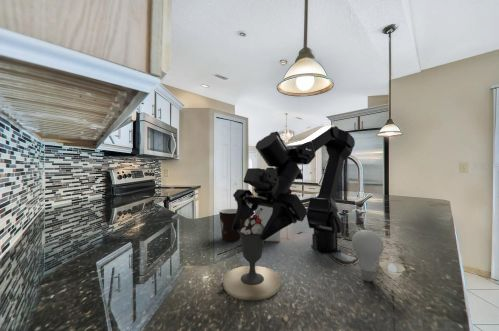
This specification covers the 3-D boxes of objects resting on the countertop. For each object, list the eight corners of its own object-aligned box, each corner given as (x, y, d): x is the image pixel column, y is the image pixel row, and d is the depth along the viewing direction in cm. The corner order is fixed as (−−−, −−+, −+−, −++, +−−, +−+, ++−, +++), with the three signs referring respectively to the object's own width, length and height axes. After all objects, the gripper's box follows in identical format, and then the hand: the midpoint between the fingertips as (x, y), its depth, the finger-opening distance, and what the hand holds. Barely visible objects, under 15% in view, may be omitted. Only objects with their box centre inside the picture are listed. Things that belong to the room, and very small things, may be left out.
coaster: (269, 268, 53) (268, 263, 53) (289, 295, 42) (289, 289, 42) (220, 274, 50) (220, 268, 50) (227, 304, 39) (227, 297, 39)
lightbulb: (384, 291, 43) (383, 235, 43) (350, 283, 46) (349, 231, 46) (384, 278, 48) (383, 229, 48) (354, 272, 51) (353, 225, 52)
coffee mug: (242, 243, 72) (242, 213, 73) (217, 243, 72) (217, 213, 73) (244, 233, 84) (244, 207, 84) (222, 233, 84) (222, 207, 84)
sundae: (273, 284, 43) (273, 209, 44) (240, 289, 42) (241, 210, 42) (262, 270, 50) (262, 204, 50) (234, 273, 48) (234, 205, 48)
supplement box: (280, 242, 73) (280, 198, 74) (254, 241, 75) (254, 197, 75) (281, 234, 82) (280, 195, 83) (257, 233, 84) (257, 194, 84)
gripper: (239, 158, 56) (200, 204, 49) (297, 153, 42) (256, 217, 35) (260, 186, 61) (229, 233, 54) (319, 191, 47) (288, 254, 40)
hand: (246, 234), depth 45 cm, fingers open, 9 cm apart
